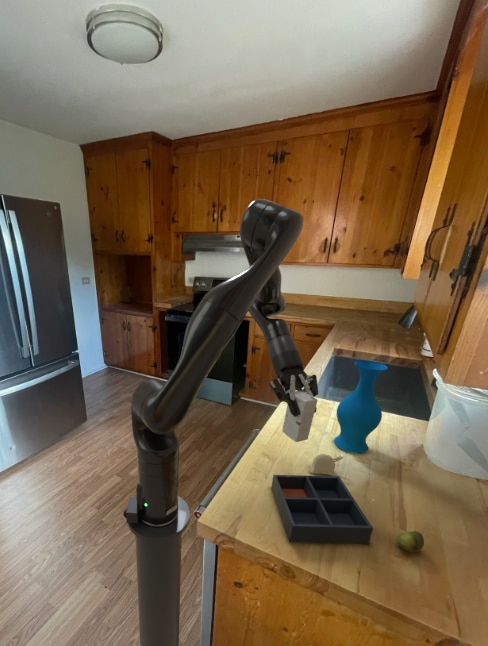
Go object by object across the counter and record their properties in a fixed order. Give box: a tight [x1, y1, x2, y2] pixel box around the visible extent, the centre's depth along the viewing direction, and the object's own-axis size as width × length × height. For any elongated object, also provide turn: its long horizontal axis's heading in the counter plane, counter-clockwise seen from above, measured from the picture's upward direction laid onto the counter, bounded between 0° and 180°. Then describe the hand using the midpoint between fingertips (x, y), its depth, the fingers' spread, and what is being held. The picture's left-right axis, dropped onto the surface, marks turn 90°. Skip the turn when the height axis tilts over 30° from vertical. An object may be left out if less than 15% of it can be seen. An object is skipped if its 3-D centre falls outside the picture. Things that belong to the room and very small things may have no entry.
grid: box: [270, 474, 374, 545], centre depth 78 cm, size 17×17×5 cm
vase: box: [333, 359, 389, 454], centre depth 102 cm, size 12×13×28 cm
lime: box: [395, 530, 425, 553], centre depth 69 cm, size 4×5×5 cm
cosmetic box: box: [281, 390, 318, 443], centre depth 86 cm, size 6×4×12 cm
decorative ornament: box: [309, 453, 344, 476], centre depth 93 cm, size 4×8×5 cm, turn 76°
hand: (305, 414), depth 84 cm, fingers closed on cosmetic box, 4 cm apart
